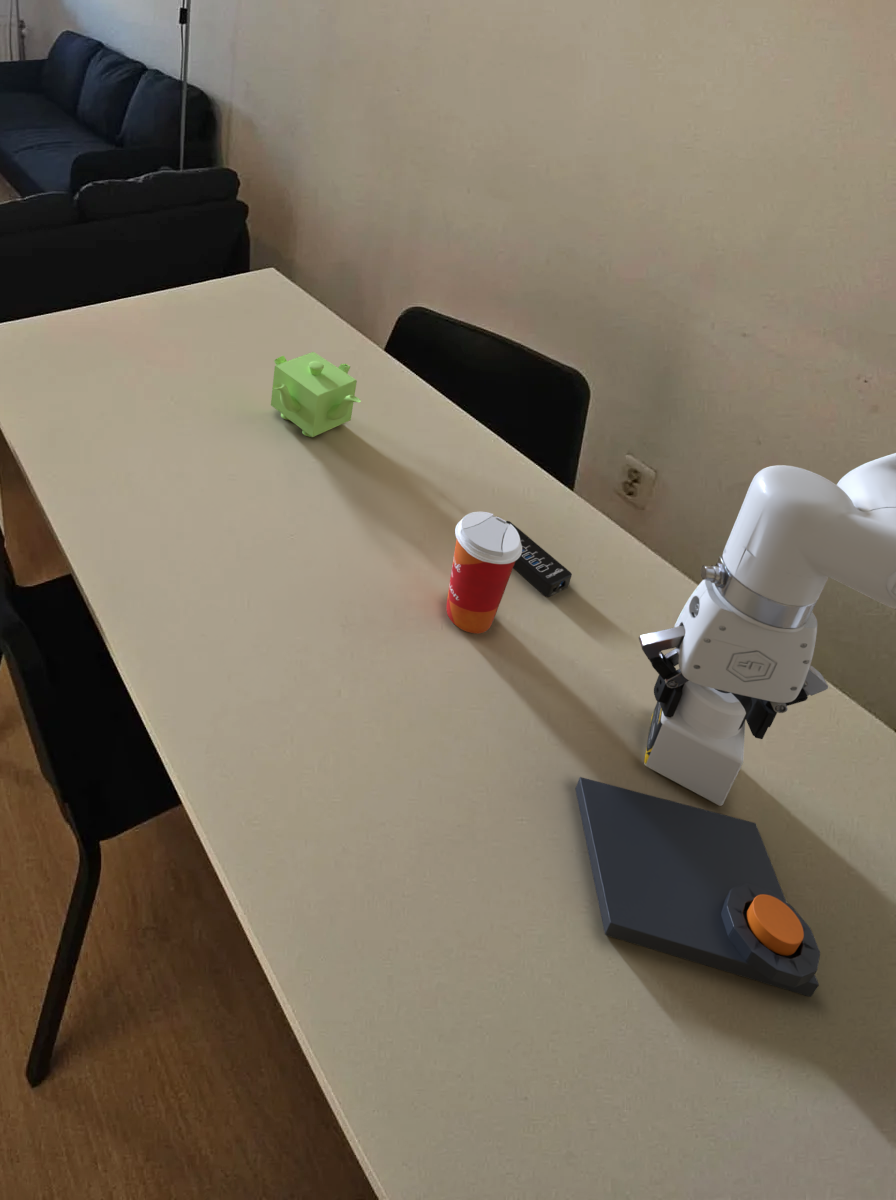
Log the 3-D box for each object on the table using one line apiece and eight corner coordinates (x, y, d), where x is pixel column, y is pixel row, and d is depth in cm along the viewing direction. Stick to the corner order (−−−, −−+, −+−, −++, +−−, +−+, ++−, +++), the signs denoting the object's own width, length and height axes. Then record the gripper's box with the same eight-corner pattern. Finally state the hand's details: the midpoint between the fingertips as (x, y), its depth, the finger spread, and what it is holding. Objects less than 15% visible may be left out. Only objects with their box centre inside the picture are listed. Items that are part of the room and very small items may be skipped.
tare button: (785, 912, 69) (792, 901, 68) (804, 962, 65) (812, 950, 65) (739, 900, 69) (746, 888, 69) (756, 947, 66) (763, 936, 66)
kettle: (353, 452, 129) (362, 395, 125) (267, 441, 131) (272, 385, 127) (348, 399, 143) (356, 346, 138) (270, 390, 145) (276, 338, 140)
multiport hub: (505, 531, 114) (508, 519, 113) (569, 587, 105) (573, 574, 104) (483, 541, 112) (486, 528, 111) (546, 598, 103) (550, 585, 102)
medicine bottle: (651, 715, 89) (681, 639, 84) (725, 753, 85) (762, 675, 80) (642, 766, 83) (674, 688, 78) (721, 809, 79) (760, 729, 75)
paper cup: (455, 581, 105) (475, 499, 100) (511, 616, 100) (535, 532, 95) (425, 614, 100) (445, 530, 95) (483, 653, 95) (506, 566, 90)
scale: (752, 835, 77) (764, 813, 76) (818, 1009, 65) (834, 987, 64) (575, 788, 81) (583, 766, 79) (606, 945, 69) (617, 922, 67)
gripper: (673, 598, 73) (624, 726, 80) (892, 643, 69) (821, 774, 76) (650, 540, 79) (607, 663, 86) (848, 578, 76) (786, 704, 83)
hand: (707, 714), depth 81 cm, fingers closed on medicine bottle, 7 cm apart
